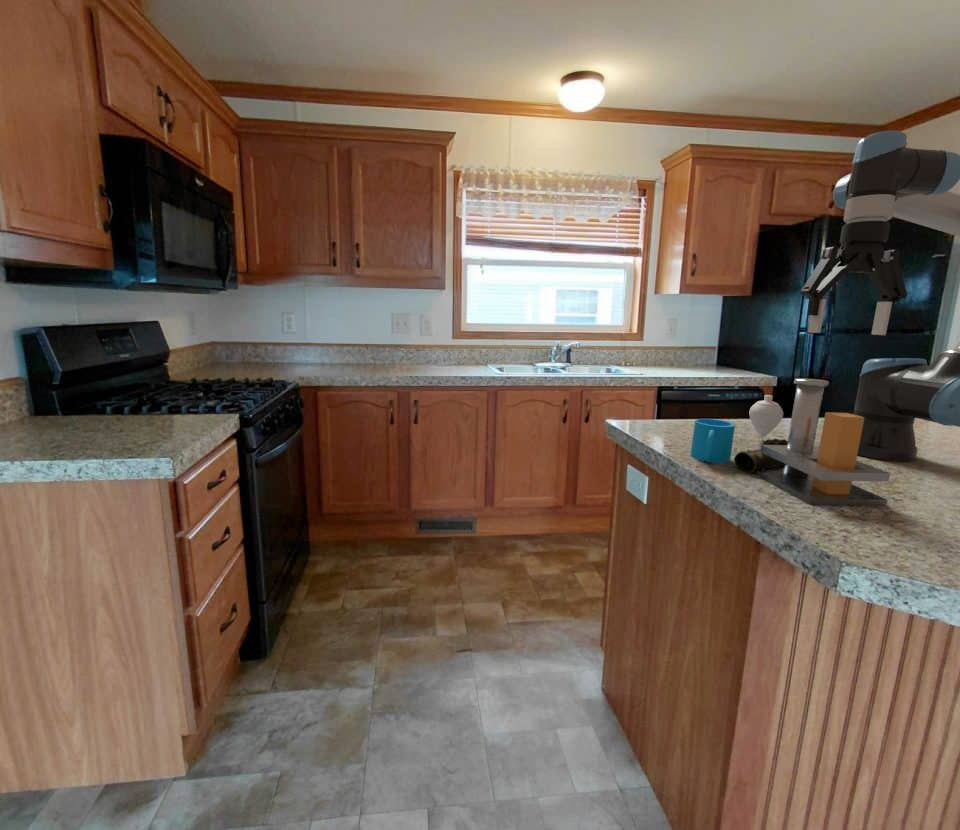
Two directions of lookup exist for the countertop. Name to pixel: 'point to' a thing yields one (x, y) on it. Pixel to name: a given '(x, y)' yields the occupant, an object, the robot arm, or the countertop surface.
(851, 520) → the countertop surface
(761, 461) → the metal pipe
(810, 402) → the two-tier gray stand
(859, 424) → the orange upright block
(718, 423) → the mug
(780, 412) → the spinning top
